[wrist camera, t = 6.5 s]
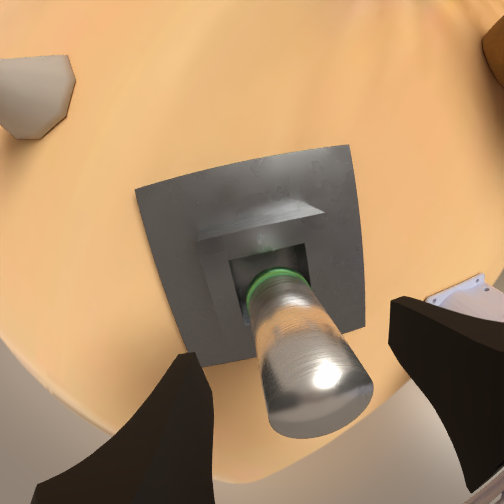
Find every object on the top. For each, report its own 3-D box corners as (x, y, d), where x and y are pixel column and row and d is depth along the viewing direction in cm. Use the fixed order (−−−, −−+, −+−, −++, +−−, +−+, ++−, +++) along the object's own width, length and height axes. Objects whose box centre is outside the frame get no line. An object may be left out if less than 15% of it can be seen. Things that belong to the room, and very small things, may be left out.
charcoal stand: (343, 145, 17) (371, 141, 13) (360, 320, 21) (382, 346, 18) (139, 188, 17) (117, 194, 13) (196, 360, 21) (192, 394, 17)
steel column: (304, 259, 14) (378, 351, 6) (311, 314, 15) (370, 420, 7) (239, 274, 14) (256, 386, 6) (253, 329, 15) (275, 448, 7)
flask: (14, 78, 12) (-62, 57, 3) (79, 43, 13) (8, -9, 3) (13, 153, 14) (-77, 160, 5) (78, 123, 15) (-20, 104, 5)
